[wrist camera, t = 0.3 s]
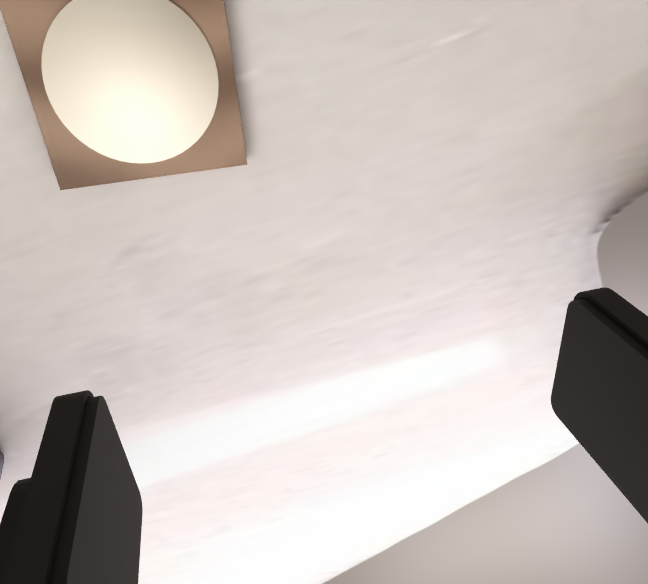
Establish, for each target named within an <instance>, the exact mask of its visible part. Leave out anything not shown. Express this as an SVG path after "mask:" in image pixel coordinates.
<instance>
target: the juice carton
mask: <svg viewBox="0 0 648 584" xmlns="http://www.w3.org/2000/svg"><path fill="white" fill-rule="evenodd" d="M3 463H4V454H3V453H2V452H0V478H1V474H2V469H3Z"/></svg>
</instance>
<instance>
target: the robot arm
mask: <svg viewBox="0 0 648 584" xmlns="http://www.w3.org/2000/svg"><path fill="white" fill-rule="evenodd" d="M551 404H552V408H553V410H554V412H555V414H556V415H557V417H558V418H559V419H560V420H561V421H562V422H563V424H564V425H565V426H566V427H567V428H568V430H569V431H570V432H571V433H572V434H573V435H574V437H575V438H576V439H577V440H578V441H579V443H580V444H581V445H582V446H583V447H584V448H585V450H586V451H587V452H588V453H589V454H590V456H591V457H592V458H593V459H594V460H595V461H596V463H597V464H598V465H599V466H600V467H601V469H602V470H603V471H604V472H605V473H606V474H607V476H608V477H609V478H610V479H611V480H612V481H613V483H614V484H615V485H616V486H617V487H618V489H619V490H620V491H621V492H622V493H623V495H624V496H625V497H626V498H627V499H628V500H629V501H630V503H631V504H632V505H633V506H634V508H635V509H636V510H637V511H638V512H639V513H640V515H641V516H642V517H643V518H644V519H645V520H646V522H647V523H648V316H646V315H645V314H644V313H642V312H641V311H640V310H638V309H637V308H636V307H634V306H633V305H632V304H630V303H629V302H627V301H626V300H625V299H624V298H622V297H621V296H620V295H618V294H617V293H616V292H614V291H613V290H611V289H609V288H599V289H594V290H589V291H584V292H580V293H578V294H577V295H576V296H575V297H574V300H573V301H571V302H570V303H569V305H568V308H567V314H566V319H565V324H564V330H563V335H562V341H561V346H560V351H559V357H558V362H557V368H556V373H555V379H554V384H553V389H552V395H551ZM141 526H142V501H141V495H140V492H139V489H138V486H137V484H136V481H135V478H134V476H133V473H132V470H131V468H130V465H129V462H128V460H127V457H126V454H125V452H124V449H123V446H122V444H121V441H120V438H119V436H118V433H117V430H116V428H115V425H114V422H113V420H112V417H111V414H110V412H109V409H108V406H107V404H106V401H105V399H104V397H103V396H97V397H93V394H92V393H91V392H90V391H88V390H87V391H82V392H77V393H72V394H67V395H62V396H57V397H55V398H54V400H53V403H52V406H51V410H50V413H49V417H48V420H47V424H46V427H45V431H44V434H43V438H42V442H41V445H40V449H39V452H38V456H37V459H36V463H35V466H34V470H33V473H32V477H31V478H28V479H23V480H18V481H17V482H16V483H15V484H14V486H13V488H12V490H11V492H10V495H9V498H8V502H7V505H6V508H5V511H4V514H3V517H2V521H1V524H0V584H138V574H139V558H140V542H141Z"/></svg>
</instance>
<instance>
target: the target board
mask: <svg viewBox="0 0 648 584" xmlns="http://www.w3.org/2000/svg"><path fill="white" fill-rule="evenodd" d="M0 9H1V12H2V15H3V18H4V21H5V24H6V27H7V30H8V33H9V36H10V39H11V42H12V45H13V48H14V51H15V54H16V57H17V60H18V63H19V66H20V69H21V72H22V75H23V78H24V81H25V84H26V87H27V90H28V93H29V96H30V99H31V102H32V105H33V109H34V112H35V115H36V118H37V121H38V124H39V127H40V130H41V133H42V136H43V139H44V142H45V145H46V148H47V151H48V154H49V157H50V160H51V163H52V166H53V169H54V172H55V175H56V178H57V181H58V184H59V187H60V190H64V189H72V188H79V187H86V186H94V185H101V184H108V183H115V182H123V181H130V180H137V179H145V178H152V177H159V176H167V175H174V174H181V173H189V172H196V171H203V170H210V169H218V168H225V167H232V166H240V165H247V160H246V153H245V146H244V139H243V132H242V125H241V118H240V111H239V104H238V97H237V90H236V83H235V76H234V69H233V62H232V55H231V48H230V41H229V34H228V27H227V20H226V13H225V6H224V0H0Z"/></svg>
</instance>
